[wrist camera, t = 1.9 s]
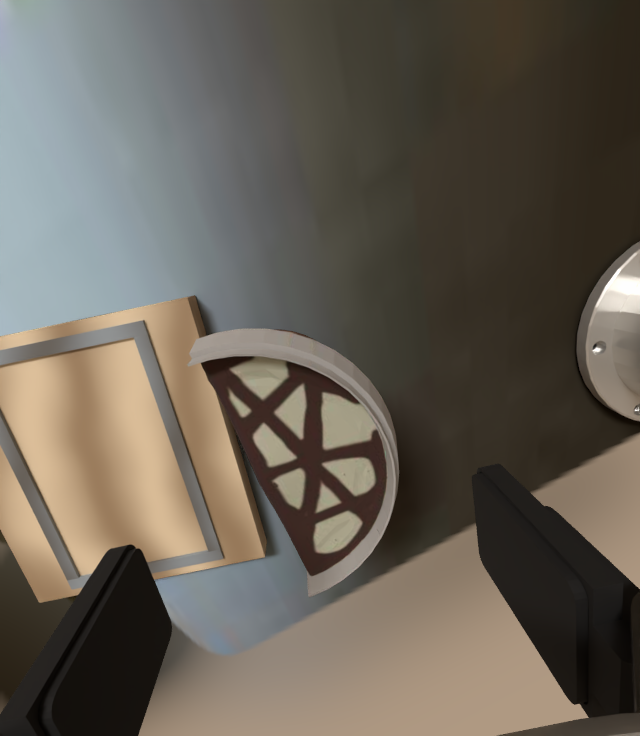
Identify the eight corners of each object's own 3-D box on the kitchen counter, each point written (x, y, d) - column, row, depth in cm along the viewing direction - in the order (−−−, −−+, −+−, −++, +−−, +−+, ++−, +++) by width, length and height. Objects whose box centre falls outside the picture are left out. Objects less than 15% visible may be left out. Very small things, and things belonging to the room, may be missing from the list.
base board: (194, 295, 22) (186, 298, 20) (266, 541, 27) (264, 559, 25) (-66, 350, 22) (-96, 357, 20) (53, 584, 27) (37, 605, 25)
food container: (392, 446, 25) (447, 558, 16) (309, 478, 26) (313, 606, 16) (326, 274, 22) (345, 282, 12) (232, 313, 22) (179, 350, 13)
